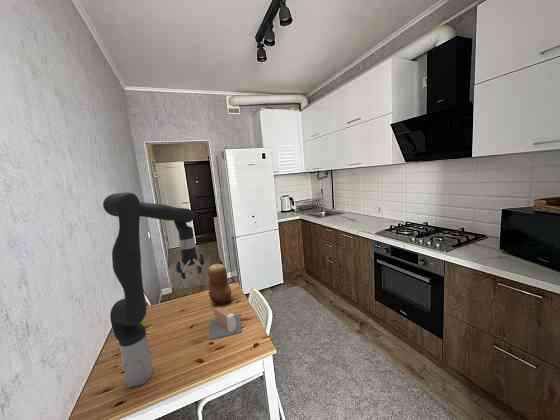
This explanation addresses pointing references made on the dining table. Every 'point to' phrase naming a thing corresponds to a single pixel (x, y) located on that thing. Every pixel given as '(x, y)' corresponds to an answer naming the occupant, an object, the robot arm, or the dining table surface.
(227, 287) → the butternut squash
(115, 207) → the robot arm
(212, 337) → the mat
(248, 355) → the dining table surface
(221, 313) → the block
